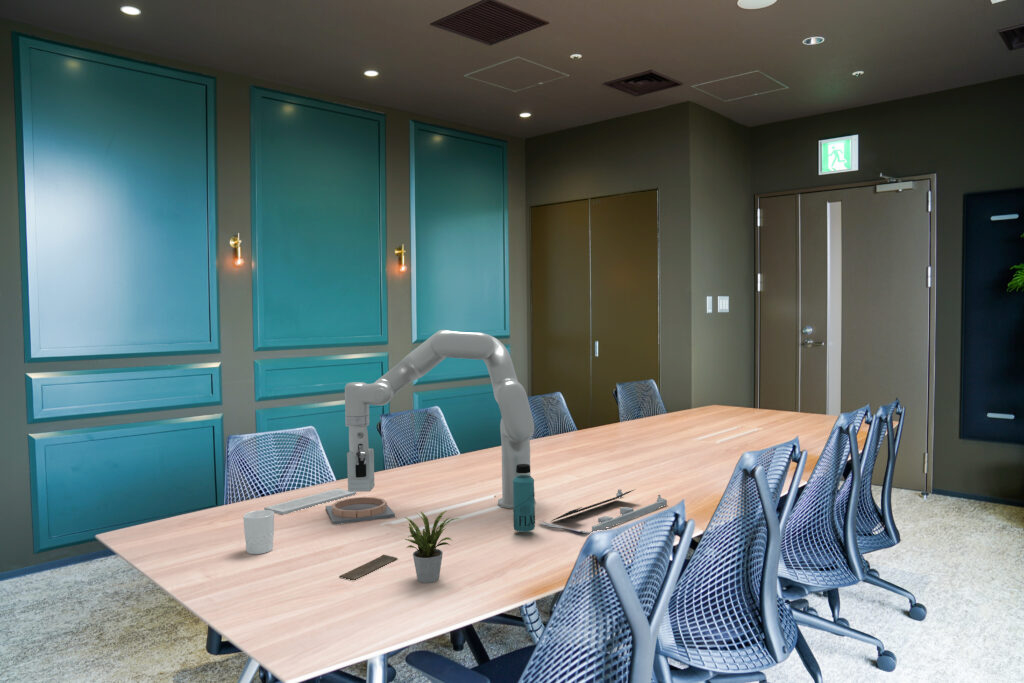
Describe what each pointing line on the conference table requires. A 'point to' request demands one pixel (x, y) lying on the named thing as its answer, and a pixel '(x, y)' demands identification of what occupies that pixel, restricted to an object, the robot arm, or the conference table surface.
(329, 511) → the ring holder
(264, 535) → the white cup
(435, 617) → the conference table surface
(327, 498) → the plaque
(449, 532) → the conference table surface
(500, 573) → the conference table surface
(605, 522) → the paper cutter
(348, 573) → the wooden plank
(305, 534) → the conference table surface
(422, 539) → the house plant
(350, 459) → the supplement box
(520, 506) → the beverage bottle
